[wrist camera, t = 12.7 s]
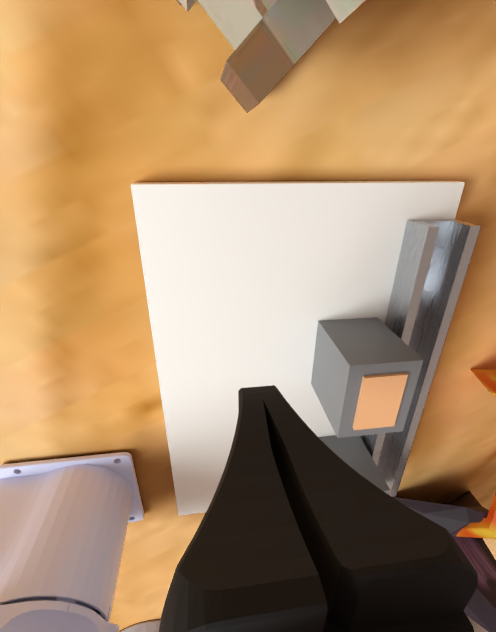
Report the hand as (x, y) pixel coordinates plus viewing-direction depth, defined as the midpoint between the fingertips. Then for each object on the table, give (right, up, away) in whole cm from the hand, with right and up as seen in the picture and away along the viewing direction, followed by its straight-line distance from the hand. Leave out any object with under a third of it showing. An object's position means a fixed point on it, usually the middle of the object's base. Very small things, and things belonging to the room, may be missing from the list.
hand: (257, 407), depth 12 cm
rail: (+10, -1, +12) cm, 16 cm away
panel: (+3, -1, +12) cm, 12 cm away
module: (+6, +1, +10) cm, 12 cm away
